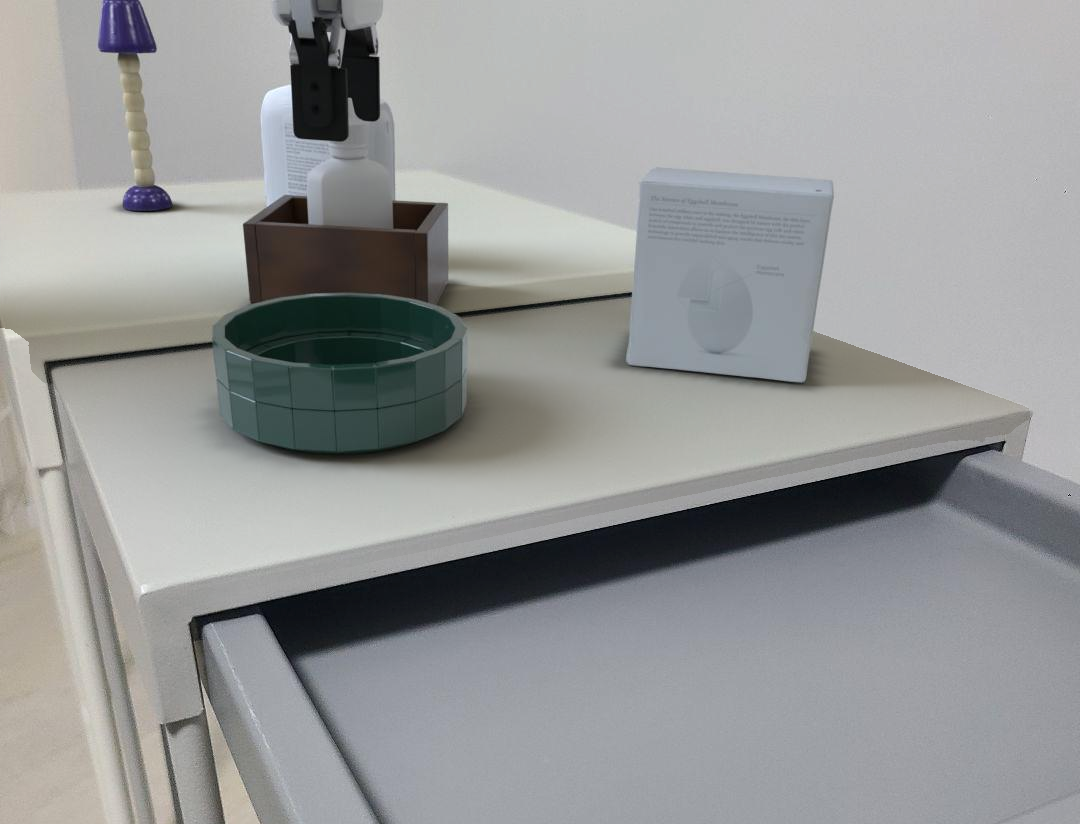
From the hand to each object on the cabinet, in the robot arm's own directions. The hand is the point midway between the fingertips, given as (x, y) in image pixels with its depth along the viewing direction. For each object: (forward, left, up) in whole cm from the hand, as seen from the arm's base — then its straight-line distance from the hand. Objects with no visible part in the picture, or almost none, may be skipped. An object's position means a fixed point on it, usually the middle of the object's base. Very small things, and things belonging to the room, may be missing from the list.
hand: (339, 129), depth 68 cm
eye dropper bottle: (0, 0, -10) cm, 10 cm away
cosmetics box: (+24, -9, -11) cm, 28 cm away
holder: (0, 0, -11) cm, 11 cm away
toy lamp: (-24, +25, -11) cm, 36 cm away
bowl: (+4, -21, -11) cm, 24 cm away
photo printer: (-4, +11, -11) cm, 16 cm away
